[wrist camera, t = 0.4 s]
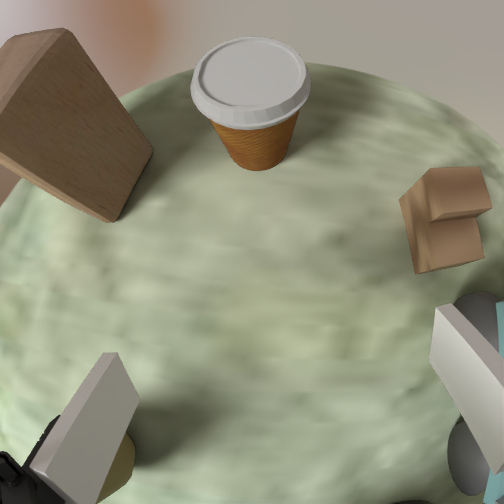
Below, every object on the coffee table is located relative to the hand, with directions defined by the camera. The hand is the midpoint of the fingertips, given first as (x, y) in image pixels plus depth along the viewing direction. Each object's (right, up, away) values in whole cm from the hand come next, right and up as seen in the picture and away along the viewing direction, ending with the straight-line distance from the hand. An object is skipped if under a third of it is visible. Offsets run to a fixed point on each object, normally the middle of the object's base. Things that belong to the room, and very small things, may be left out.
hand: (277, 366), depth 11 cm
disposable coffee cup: (0, +16, +21) cm, 26 cm away
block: (-18, +13, +22) cm, 31 cm away
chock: (+18, +6, +18) cm, 26 cm away
